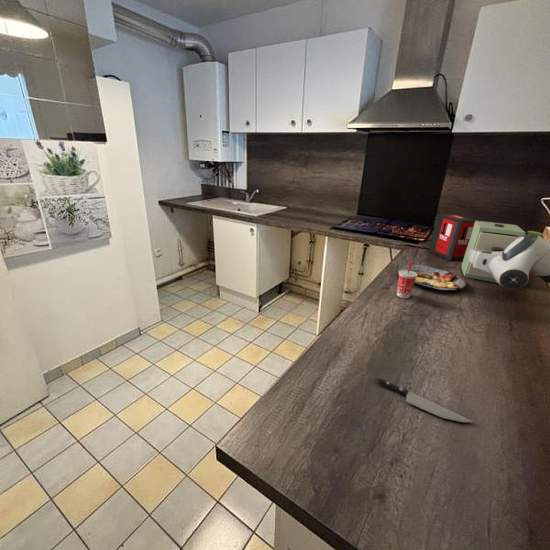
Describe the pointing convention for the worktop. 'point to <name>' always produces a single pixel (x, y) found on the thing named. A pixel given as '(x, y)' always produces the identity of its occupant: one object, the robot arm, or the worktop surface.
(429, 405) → the chef's knife
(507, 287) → the robot arm
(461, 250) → the cleaning product box
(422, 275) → the food plate
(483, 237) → the basket
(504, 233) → the box
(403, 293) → the beverage cup
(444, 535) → the worktop surface
